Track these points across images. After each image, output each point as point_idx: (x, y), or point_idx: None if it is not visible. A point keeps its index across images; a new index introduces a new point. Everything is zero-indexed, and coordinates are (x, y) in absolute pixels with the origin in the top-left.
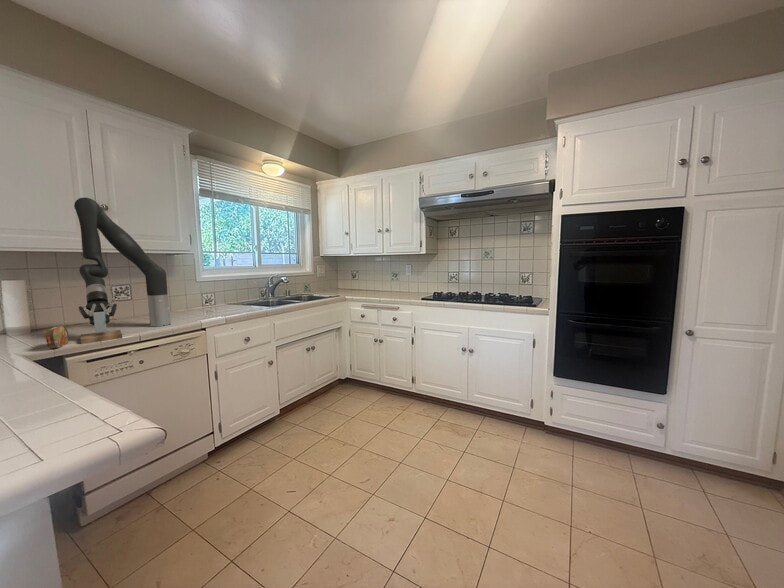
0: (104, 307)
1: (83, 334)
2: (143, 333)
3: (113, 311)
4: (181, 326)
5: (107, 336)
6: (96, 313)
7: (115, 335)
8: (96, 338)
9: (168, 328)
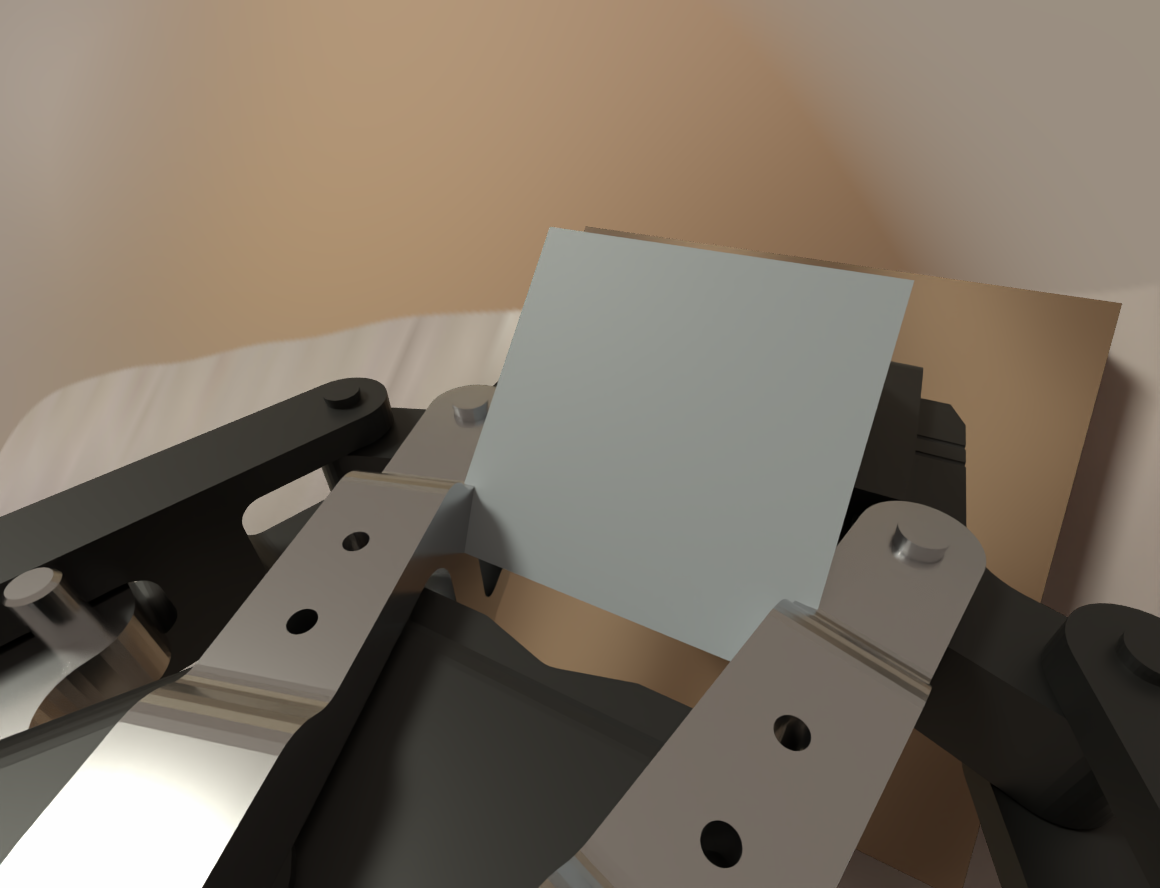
0: (299, 579)
1: (927, 842)
2: (368, 364)
3: (297, 407)
4: (68, 409)
5: (744, 251)
6: (793, 272)
7: (655, 239)
8: (881, 275)
9: (150, 420)
